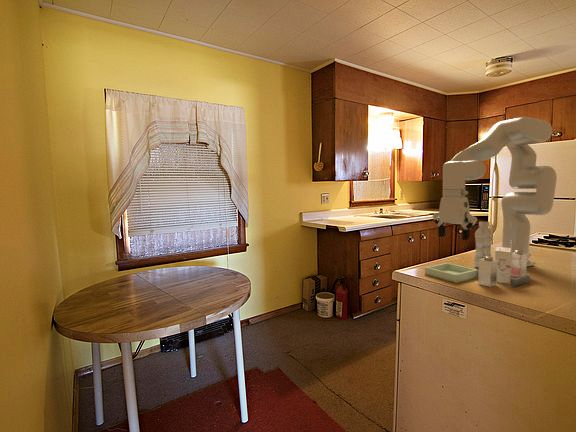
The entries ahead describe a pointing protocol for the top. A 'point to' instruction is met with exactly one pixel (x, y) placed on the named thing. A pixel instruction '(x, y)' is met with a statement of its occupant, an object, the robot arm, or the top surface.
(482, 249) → the plastic bottle
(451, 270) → the tray
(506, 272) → the ink cartridge box
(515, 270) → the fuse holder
